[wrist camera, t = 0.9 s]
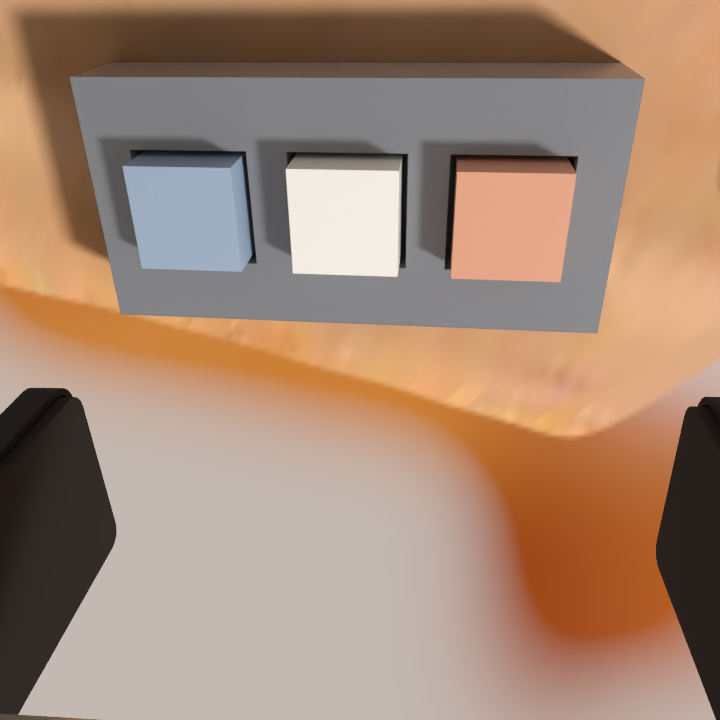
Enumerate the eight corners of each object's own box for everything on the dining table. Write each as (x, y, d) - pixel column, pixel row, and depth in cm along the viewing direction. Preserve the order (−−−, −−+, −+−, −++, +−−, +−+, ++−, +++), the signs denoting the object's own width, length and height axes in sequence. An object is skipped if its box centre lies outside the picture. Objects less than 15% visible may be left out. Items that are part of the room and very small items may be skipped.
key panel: (110, 62, 35) (69, 76, 31) (621, 62, 32) (644, 78, 28) (151, 279, 41) (120, 314, 37) (582, 294, 38) (597, 333, 35)
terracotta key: (456, 153, 32) (457, 172, 30) (566, 155, 32) (576, 174, 29) (450, 253, 35) (450, 278, 32) (552, 256, 34) (560, 282, 32)
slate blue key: (147, 149, 34) (122, 166, 31) (247, 150, 33) (230, 168, 31) (163, 245, 36) (142, 268, 34) (256, 248, 36) (241, 271, 33)
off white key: (298, 151, 33) (285, 169, 30) (402, 152, 32) (399, 170, 30) (304, 249, 35) (292, 273, 33) (401, 252, 35) (397, 276, 32)
